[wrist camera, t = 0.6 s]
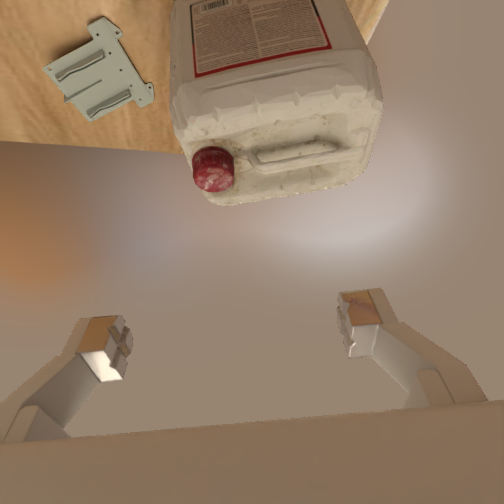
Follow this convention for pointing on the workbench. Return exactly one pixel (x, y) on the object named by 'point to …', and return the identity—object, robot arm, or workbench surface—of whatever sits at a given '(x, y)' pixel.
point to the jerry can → (271, 96)
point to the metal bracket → (99, 74)
